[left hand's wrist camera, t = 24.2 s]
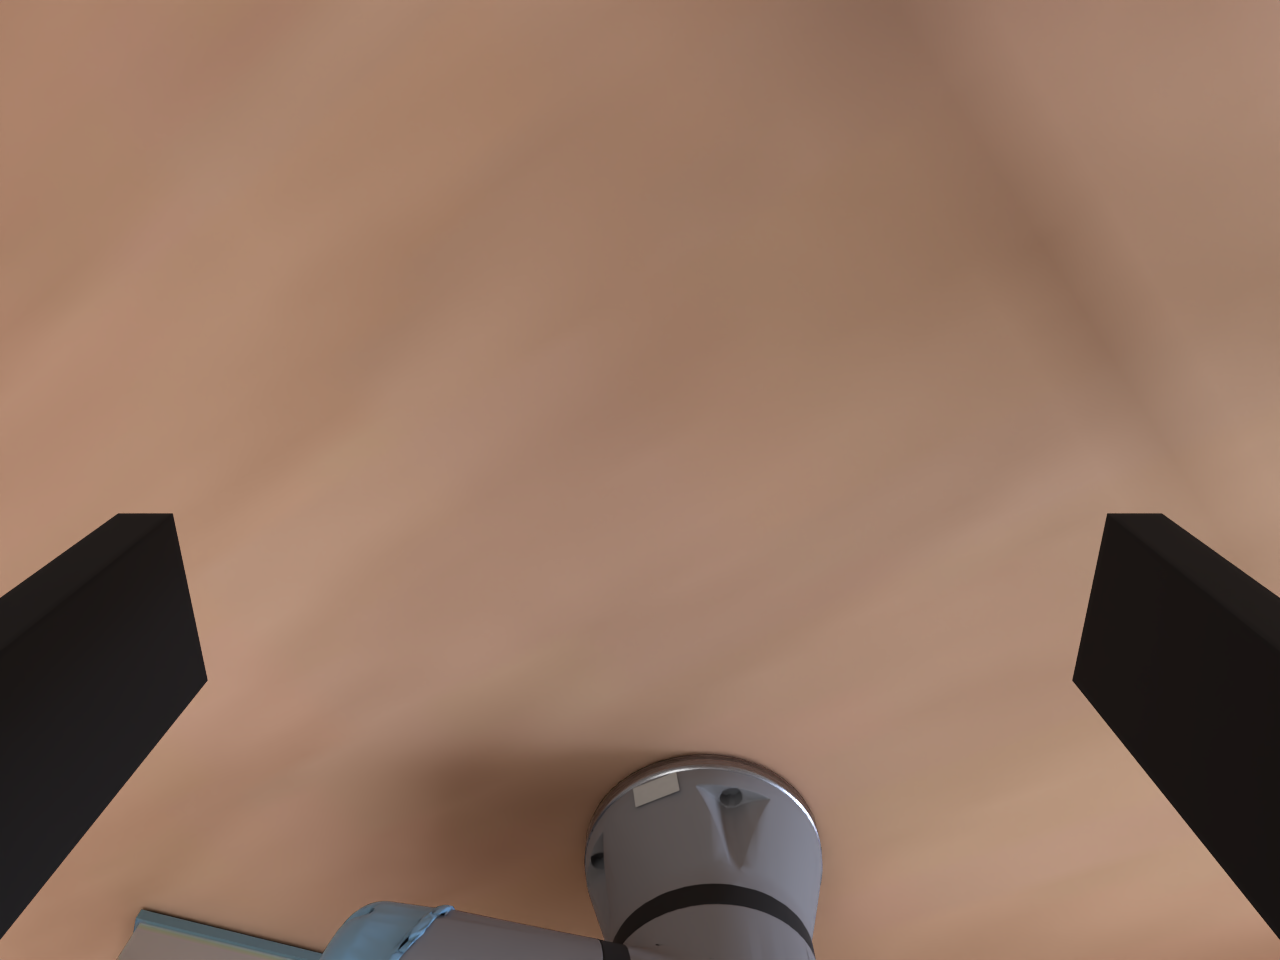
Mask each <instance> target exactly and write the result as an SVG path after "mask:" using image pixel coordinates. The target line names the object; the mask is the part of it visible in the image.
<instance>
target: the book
mask: <svg viewBox="0 0 1280 960" xmlns="http://www.w3.org/2000/svg"><path fill="white" fill-rule="evenodd" d="M321 956H322V953H317V952H313V951H309V950H305V949H301V948H297V947H293V946H289V945H285V944H281V943H277V942H273V941H268V940H264V939H260V938H256V937H252V936H248V935H244V934H240V933H236V932H232V931H228V930H224V929H219V928H215V927H211V926H207V925H203V924H199V923H195V922H191V921H187V920H183V919H179V918H175V917H170V916H166V915H162V914H158V913H154V912H150V911H146V910H141V911H140V913H139V914H138V916H137V917H136V921H135V926H134V932H133V935H132V936H131V938H130V939H129V941H128V942H127V944H126V946H125V947H124V949H123V950H122V952H121V953H120V955H119V956H118V958H117V960H319V959H320V957H321Z"/></svg>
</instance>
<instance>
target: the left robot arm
mask: <svg viewBox="0 0 1280 960" xmlns="http://www.w3.org/2000/svg"><path fill="white" fill-rule="evenodd" d="M207 681H208V680H207V675H206V670H205V666H204V661H203V656H202V651H201V646H200V642H199V637H198V632H197V627H196V623H195V618H194V613H193V608H192V603H191V599H190V594H189V589H188V584H187V579H186V575H185V570H184V565H183V560H182V556H181V551H180V546H179V541H178V536H177V532H176V527H175V522H174V517H173V514H117V515H115V516H114V517H113V518H111V519H110V520H108V521H107V522H106V523H104V524H103V525H101V526H100V527H99V528H97V529H96V530H94V531H93V532H92V533H90V534H89V535H87V536H86V537H85V538H83V539H82V540H80V541H79V542H78V543H76V544H75V545H73V546H72V547H71V548H69V549H68V550H66V551H65V552H64V553H62V554H61V555H60V556H58V557H57V558H55V559H54V560H53V561H51V562H50V563H48V564H47V565H46V566H44V567H43V568H41V569H40V570H39V571H37V572H36V573H34V574H33V575H32V576H30V577H29V578H27V579H26V580H25V581H23V582H22V583H20V584H19V585H18V586H16V587H15V588H13V589H12V590H11V591H9V592H8V593H6V594H5V595H4V596H2V597H1V598H0V939H1V938H2V937H3V935H4V934H5V933H6V932H7V930H8V929H9V928H10V927H11V925H12V924H13V923H14V922H15V920H16V919H17V918H18V917H19V915H20V914H21V913H22V912H23V910H24V909H25V908H26V907H27V905H28V904H29V903H30V902H31V901H32V899H33V898H34V897H35V896H36V894H37V893H38V892H39V891H40V889H41V888H42V887H43V886H44V884H45V883H46V882H47V881H48V879H49V878H50V877H51V876H52V874H53V873H54V872H55V871H56V869H57V868H58V867H59V866H60V864H61V863H62V862H63V861H64V859H65V858H66V857H67V856H68V854H69V853H70V852H71V851H72V849H73V848H74V847H75V846H76V844H77V843H78V842H79V841H80V839H81V838H82V837H83V836H84V834H85V833H86V832H87V831H88V829H89V828H90V827H91V826H92V824H93V823H94V822H95V821H96V819H97V818H98V817H99V816H100V814H101V813H102V812H103V811H104V809H105V808H106V807H107V806H108V804H109V803H110V802H111V801H112V799H113V798H114V797H115V796H116V794H117V793H118V792H119V791H120V789H121V788H122V787H123V786H124V784H125V783H126V782H127V781H128V779H129V778H130V777H131V776H132V774H133V773H134V772H135V771H136V769H137V768H138V767H139V766H140V764H141V763H142V762H143V761H144V759H145V758H146V757H147V756H148V754H149V753H150V752H151V751H152V749H153V748H154V747H155V746H156V744H157V743H158V742H159V741H160V739H161V738H162V737H163V736H164V734H165V733H166V732H167V731H168V729H169V728H170V727H171V726H172V724H173V723H174V722H175V721H176V719H177V718H178V717H179V716H180V714H181V713H182V712H183V711H184V709H185V708H186V707H187V706H188V704H189V703H190V702H191V701H192V699H193V698H194V697H195V696H196V694H197V693H198V692H199V691H200V689H201V688H202V687H203V686H204V684H205V683H206V682H207ZM1072 681H1073V682H1074V683H1075V684H1076V686H1077V687H1078V688H1079V689H1080V691H1081V692H1082V693H1083V694H1084V696H1085V697H1086V698H1087V699H1088V701H1089V702H1090V703H1091V704H1092V706H1093V707H1094V708H1095V709H1096V711H1097V712H1098V713H1099V714H1100V716H1101V717H1102V718H1103V719H1104V721H1105V722H1106V723H1107V724H1108V726H1109V727H1110V728H1111V729H1112V731H1113V732H1114V733H1115V734H1116V736H1117V737H1118V738H1119V739H1120V741H1121V742H1122V743H1123V744H1124V746H1125V747H1126V748H1127V749H1128V751H1129V752H1130V753H1131V754H1132V756H1133V757H1134V758H1135V759H1136V761H1137V762H1138V763H1139V764H1140V766H1141V767H1142V768H1143V769H1144V771H1145V772H1146V773H1147V774H1148V776H1149V777H1150V778H1151V779H1152V781H1153V782H1154V783H1155V784H1156V786H1157V787H1158V788H1159V789H1160V791H1161V792H1162V793H1163V794H1164V796H1165V797H1166V798H1167V799H1168V801H1169V802H1170V803H1171V804H1172V806H1173V807H1174V808H1175V809H1176V811H1177V812H1178V813H1179V814H1180V816H1181V817H1182V818H1183V819H1184V821H1185V822H1186V823H1187V824H1188V826H1189V827H1190V828H1191V829H1192V831H1193V832H1194V833H1195V834H1196V836H1197V837H1198V838H1199V839H1200V841H1201V842H1202V843H1203V844H1204V846H1205V847H1206V848H1207V849H1208V851H1209V852H1210V853H1211V854H1212V856H1213V857H1214V858H1215V859H1216V861H1217V862H1218V863H1219V864H1220V866H1221V867H1222V868H1223V869H1224V871H1225V872H1226V873H1227V874H1228V876H1229V877H1230V878H1231V879H1232V881H1233V882H1234V883H1235V884H1236V886H1237V887H1238V888H1239V889H1240V891H1241V892H1242V893H1243V894H1244V896H1245V897H1246V898H1247V899H1248V901H1249V902H1250V903H1251V904H1252V905H1253V907H1254V908H1255V909H1256V910H1257V912H1258V913H1259V914H1260V915H1261V917H1262V918H1263V919H1264V920H1265V922H1266V923H1267V924H1268V925H1269V927H1270V928H1271V929H1272V930H1273V932H1274V933H1275V934H1276V935H1277V937H1278V938H1279V939H1280V598H1279V597H1278V596H1276V595H1275V594H1274V593H1272V592H1271V591H1269V590H1268V589H1267V588H1265V587H1264V586H1262V585H1261V584H1260V583H1258V582H1257V581H1255V580H1254V579H1253V578H1251V577H1250V576H1248V575H1247V574H1246V573H1244V572H1243V571H1241V570H1240V569H1239V568H1237V567H1236V566H1234V565H1233V564H1232V563H1230V562H1229V561H1227V560H1226V559H1225V558H1223V557H1222V556H1220V555H1219V554H1218V553H1216V552H1215V551H1214V550H1212V549H1211V548H1209V547H1208V546H1207V545H1205V544H1204V543H1202V542H1201V541H1200V540H1198V539H1197V538H1195V537H1194V536H1193V535H1191V534H1190V533H1188V532H1187V531H1186V530H1184V529H1183V528H1181V527H1180V526H1179V525H1177V524H1176V523H1174V522H1173V521H1172V520H1170V519H1169V518H1167V517H1166V516H1165V515H1163V514H1107V517H1106V522H1105V527H1104V532H1103V536H1102V541H1101V546H1100V551H1099V556H1098V560H1097V565H1096V570H1095V575H1094V579H1093V584H1092V589H1091V594H1090V599H1089V603H1088V608H1087V613H1086V618H1085V623H1084V627H1083V632H1082V637H1081V642H1080V646H1079V651H1078V656H1077V661H1076V666H1075V670H1074V675H1073V680H1072ZM585 874H586V882H587V888H588V892H589V895H590V898H591V901H592V904H593V907H594V910H595V913H596V916H597V919H598V922H599V925H600V928H601V931H602V934H603V937H604V940H605V941H603V940H600V939H595V938H590V937H585V936H579V935H574V934H569V933H564V932H559V931H554V930H549V929H544V928H539V927H535V926H530V925H525V924H520V923H515V922H510V921H506V920H501V919H496V918H491V917H486V916H481V915H476V914H472V913H467V912H462V911H457V910H455V909H454V907H453V906H450V905H442V906H438V907H436V908H433V907H425V906H418V905H411V904H404V903H397V902H390V901H380V902H374V903H371V904H368V905H366V906H364V907H362V908H360V909H359V910H358V911H356V912H355V913H353V914H352V915H351V916H350V917H349V918H348V919H347V920H346V921H345V923H344V924H343V925H342V926H341V927H340V928H339V930H338V931H337V932H336V934H335V935H334V937H333V938H332V940H331V941H330V943H329V944H328V946H327V947H326V949H325V951H324V952H323V954H322V956H321V957H320V959H319V960H816V959H815V954H814V949H813V944H812V937H813V930H814V924H815V918H816V911H817V905H818V897H819V890H820V885H821V879H822V851H821V844H820V839H819V835H818V831H817V828H816V824H815V821H814V818H813V815H812V813H811V811H810V809H809V807H808V805H807V804H806V802H805V801H804V799H803V798H802V797H801V795H800V794H799V793H798V792H797V791H796V790H795V789H794V788H793V787H792V786H791V785H790V784H789V783H788V782H786V781H785V780H784V779H783V778H781V777H780V776H778V775H777V774H775V773H774V772H772V771H770V770H768V769H766V768H764V767H762V766H760V765H757V764H755V763H752V762H749V761H746V760H743V759H738V758H734V757H728V756H722V755H689V756H681V757H676V758H671V759H667V760H663V761H660V762H657V763H654V764H652V765H649V766H647V767H645V768H643V769H640V770H639V771H637V772H635V773H633V774H632V775H630V776H628V777H627V778H626V779H624V780H623V781H621V782H620V783H619V784H618V785H617V786H615V787H614V788H613V789H612V790H611V791H610V792H609V793H608V794H607V795H606V797H605V798H604V799H603V800H602V802H601V803H600V804H599V806H598V808H597V809H596V811H595V813H594V815H593V817H592V819H591V822H590V825H589V828H588V832H587V837H586V848H585Z"/></svg>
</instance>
